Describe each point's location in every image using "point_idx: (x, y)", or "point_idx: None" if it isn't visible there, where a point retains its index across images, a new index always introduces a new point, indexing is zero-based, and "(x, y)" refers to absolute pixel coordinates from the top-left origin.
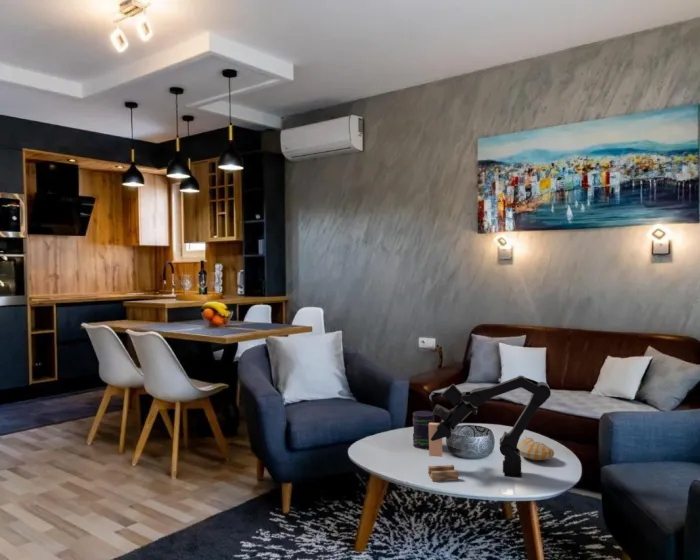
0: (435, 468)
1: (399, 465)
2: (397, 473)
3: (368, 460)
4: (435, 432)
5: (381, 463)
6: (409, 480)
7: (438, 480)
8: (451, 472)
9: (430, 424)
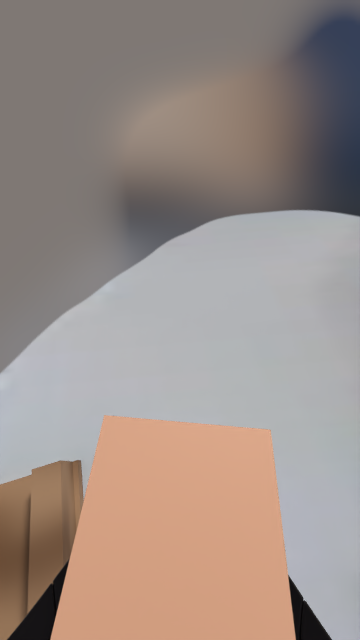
0: (34, 515)
1: (179, 328)
2: (93, 329)
3: (207, 244)
4: (57, 605)
5: (188, 276)
6: (9, 378)
7: None
8: None
9: (95, 479)
